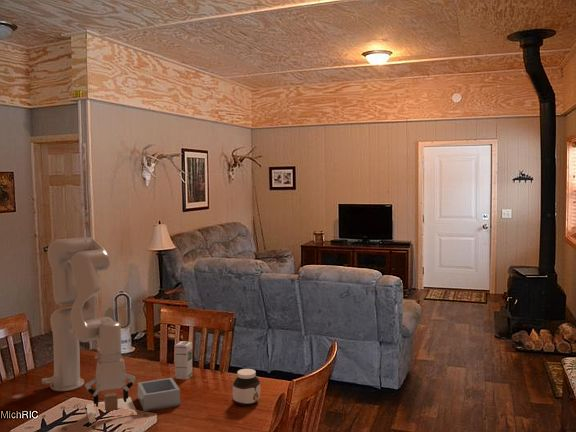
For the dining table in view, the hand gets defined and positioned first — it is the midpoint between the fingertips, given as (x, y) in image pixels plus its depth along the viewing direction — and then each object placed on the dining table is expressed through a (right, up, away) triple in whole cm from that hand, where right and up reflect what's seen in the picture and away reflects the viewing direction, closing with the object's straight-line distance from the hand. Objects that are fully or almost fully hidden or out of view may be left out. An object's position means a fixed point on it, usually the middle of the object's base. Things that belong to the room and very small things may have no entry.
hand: (111, 403), depth 189 cm
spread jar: (+48, -3, +10) cm, 49 cm away
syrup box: (+20, -1, +33) cm, 38 cm away
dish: (+15, -2, +7) cm, 17 cm away
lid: (0, -3, 0) cm, 3 cm away
